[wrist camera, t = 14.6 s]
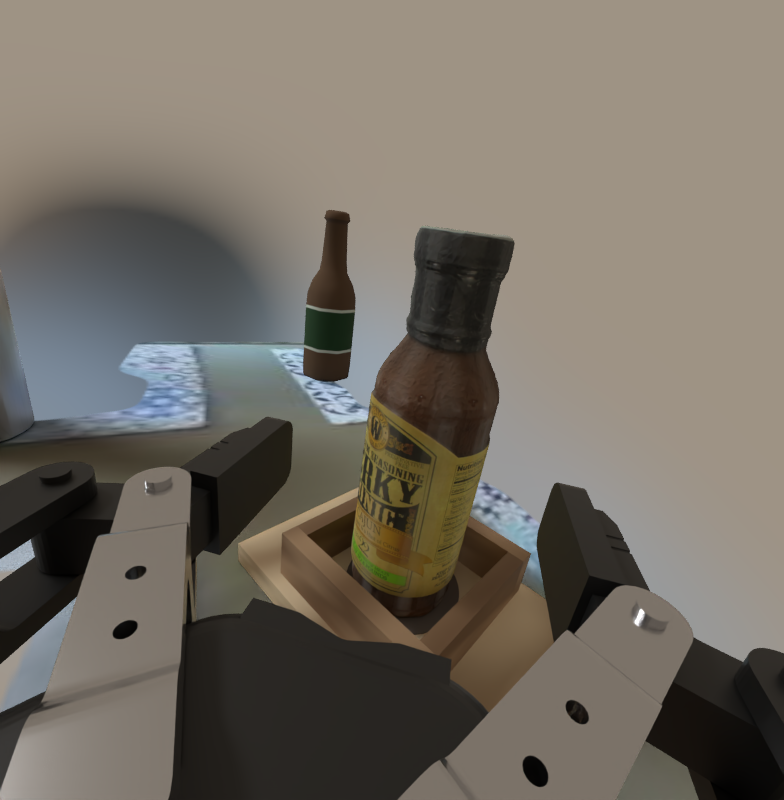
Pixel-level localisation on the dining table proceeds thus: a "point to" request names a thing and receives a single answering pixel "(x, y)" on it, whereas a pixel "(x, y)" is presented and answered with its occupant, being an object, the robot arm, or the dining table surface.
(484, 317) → the sauce bottle
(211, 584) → the dining table surface
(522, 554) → the socket board
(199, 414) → the dining table surface
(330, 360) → the beer bottle
